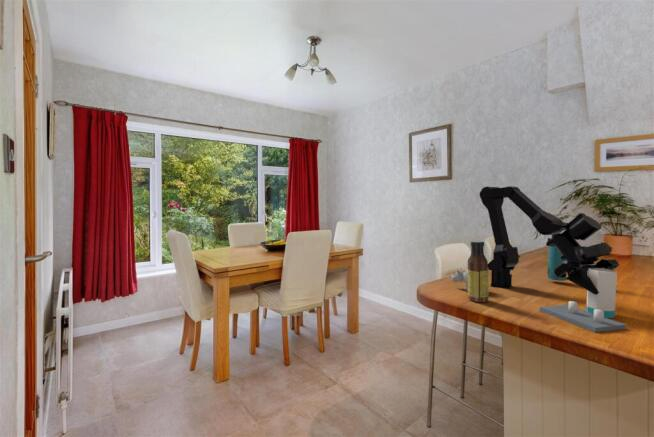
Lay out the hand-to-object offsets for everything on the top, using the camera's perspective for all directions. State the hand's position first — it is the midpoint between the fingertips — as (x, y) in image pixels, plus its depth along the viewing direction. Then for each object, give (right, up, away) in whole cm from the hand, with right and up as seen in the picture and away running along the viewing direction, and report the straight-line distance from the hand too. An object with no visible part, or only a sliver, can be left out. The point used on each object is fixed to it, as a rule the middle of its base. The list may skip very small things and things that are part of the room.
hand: (606, 293), depth 91 cm
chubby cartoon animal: (-28, -5, +28) cm, 39 cm away
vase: (0, -7, +2) cm, 7 cm away
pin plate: (-9, -7, -2) cm, 12 cm away
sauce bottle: (-30, -6, +15) cm, 34 cm away
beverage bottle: (+13, -5, +38) cm, 40 cm away
